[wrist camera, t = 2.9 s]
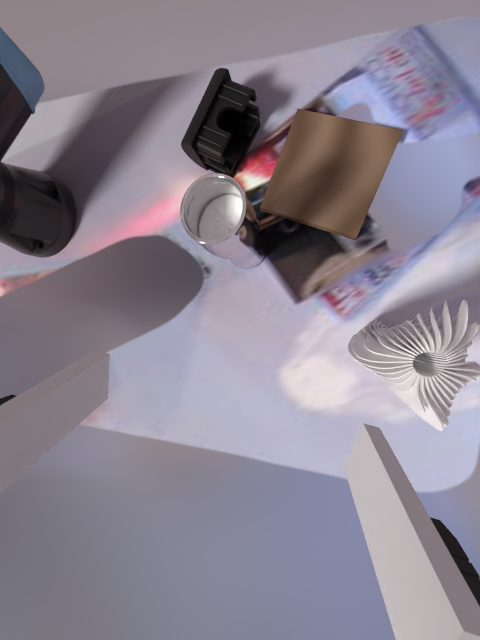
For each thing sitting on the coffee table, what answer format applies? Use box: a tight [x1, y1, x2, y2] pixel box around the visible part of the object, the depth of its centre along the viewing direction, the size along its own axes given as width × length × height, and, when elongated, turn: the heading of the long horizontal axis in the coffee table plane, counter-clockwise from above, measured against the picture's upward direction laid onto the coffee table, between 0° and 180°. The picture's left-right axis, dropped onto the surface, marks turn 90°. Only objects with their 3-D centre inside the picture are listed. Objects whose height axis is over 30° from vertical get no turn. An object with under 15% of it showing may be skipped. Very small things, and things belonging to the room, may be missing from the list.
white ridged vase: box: [348, 299, 480, 431], centre depth 24 cm, size 8×8×18 cm
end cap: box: [181, 68, 260, 178], centre depth 34 cm, size 10×7×7 cm
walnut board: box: [260, 109, 403, 240], centre depth 34 cm, size 14×14×1 cm
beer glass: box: [180, 173, 266, 269], centre depth 30 cm, size 7×7×15 cm
